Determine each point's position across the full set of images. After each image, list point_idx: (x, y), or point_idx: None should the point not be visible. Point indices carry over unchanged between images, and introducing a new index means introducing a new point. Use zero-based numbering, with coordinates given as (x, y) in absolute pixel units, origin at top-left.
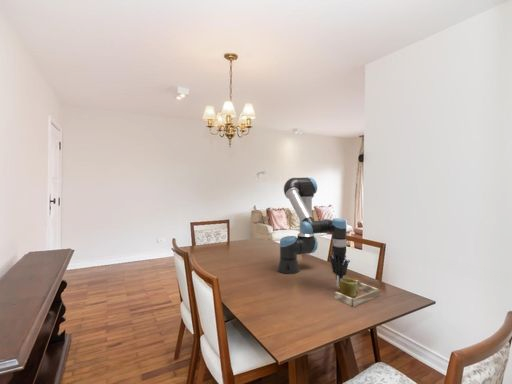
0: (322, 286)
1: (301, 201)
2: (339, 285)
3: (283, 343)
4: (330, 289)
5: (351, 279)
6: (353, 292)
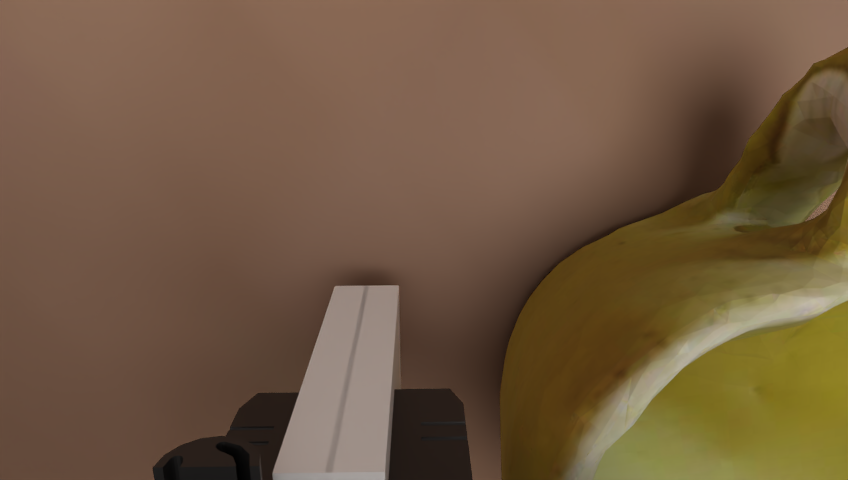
0: (51, 451)
1: None
2: (400, 385)
3: None
4: None
5: (792, 321)
6: None
